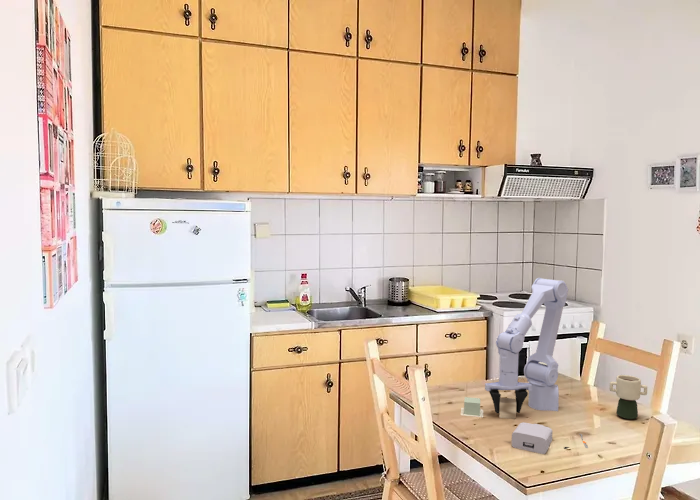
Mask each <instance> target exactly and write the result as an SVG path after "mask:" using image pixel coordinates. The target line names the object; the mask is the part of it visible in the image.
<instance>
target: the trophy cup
mask: <svg viewBox="0 0 700 500" xmlns="http://www.w3.org/2000/svg"><path fill="white" fill-rule="evenodd" d="M614 386H615V388H614ZM641 389H643V391H641ZM609 391H610V392H612V393H615V395H616V396H617V397H618V398H619V399H618V402H617V407H616V415H617V416H619V417H621V418H623V419H628V420H629V419H630V420H633V419H637V418H638V416H639V409H638V402H637V401H638V400H640V398H641V396H647V394H648V385H646V384H642V379H641V378H640V377H637V376H633V375H629V374H621V375H619V374H618V375H616V380H615V381H610V382H609Z"/></svg>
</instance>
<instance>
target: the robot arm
mask: <svg viewBox="0 0 700 500" xmlns="http://www.w3.org/2000/svg"><path fill="white" fill-rule="evenodd" d="M530 288H531V289H530V291H531V294H530V296H529V298H528V300H527V302H526V304H525V306H524V308H523V309H522V311H521V313H517V314H515V316H513V317H514V318H513V319H512V321H510V323H509V324H508V327H507V328H506V329H505V331H503V332H501V333H499V334H498V335H497V337H496V340H495V346H496V348H497V353H498V355H499V367H498V368H499V370H498V372H499V373H498V374H499V375H498V381H495V382H486V383H484V390H485V391H487V392H489V395H490V398H491V399H492V403H493V406H494V413H496V414H499V404H500V397H501V396H502V394H501V393H500V391H514V393H515V399H516V414H520V413H521V410H522V407H523V404H524V403H525V400H526V399H527V397H528V402H527V403H528V407H529V408H531V409H534V410H537V411H549V412H550V411H551V412H559V399H560V398H559V386H558V384H556V382H557V380H558V378H559V371H558V370H559V363H558V362H557V361H556V359H555V358H554V357H553V355H554V351H555V346H556V341H557V337H558V333H559V327H560V324H561V319H562V314H563V310H564V307H565V306H566V302H567V298H568V293H569V288H568V286H567V283H566V281H564V280H563V279H562V280H561V279H560V280H558V279H549V278H543V277H537V278H536V279H535V280H534V282H533V283H532V285H531V287H530ZM542 305H544V307H545V311H544V316H543V321H542V323H541V327H540V328H541V329H540V332H539V333H540V334H539V336H538V342H537V346H536V351H535V353H532V354H531V355H529V356H528V358H527V361H526V364H525V365H524V368H523V374H524V377H525V378H526V381H527V382H522V381H520V382H519V381H518V380H519V378H518V377H519V355H520V354H519V352H520V351H521V350H522V349H523V347H524V341H525V336H527V335H526V334H527V333H528V332H529V330H530V328H531V327H532V324H533V323H532V318H533V317H534V316H535V315H536V313H537V312H538V311H539V309H540V308H541V307H542ZM501 398H502V397H501Z"/></svg>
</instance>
